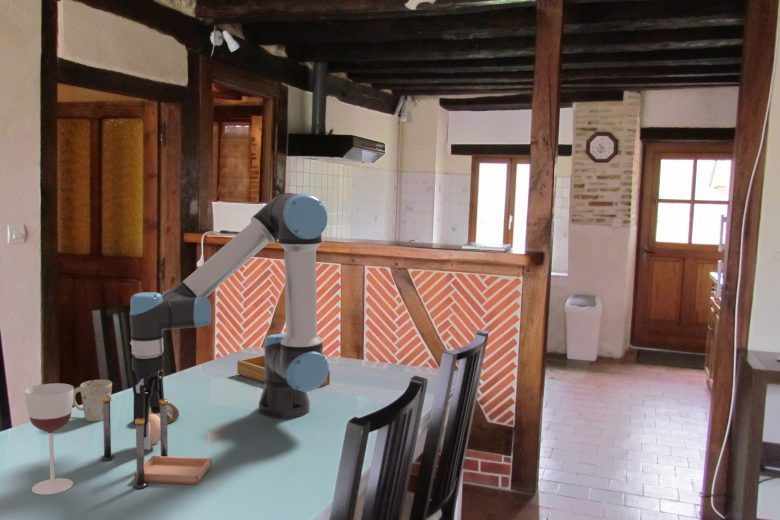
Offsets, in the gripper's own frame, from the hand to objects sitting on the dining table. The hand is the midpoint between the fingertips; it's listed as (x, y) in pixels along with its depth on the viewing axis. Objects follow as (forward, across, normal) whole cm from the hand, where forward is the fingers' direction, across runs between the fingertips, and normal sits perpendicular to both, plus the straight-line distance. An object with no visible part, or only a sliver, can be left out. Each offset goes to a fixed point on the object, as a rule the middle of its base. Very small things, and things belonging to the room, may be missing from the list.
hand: (150, 442), depth 177 cm
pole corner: (+1, +8, +7) cm, 11 cm away
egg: (+1, 0, 0) cm, 1 cm away
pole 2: (+1, +22, +7) cm, 23 cm away
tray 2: (+3, -65, +21) cm, 68 cm away
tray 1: (+1, +15, +12) cm, 19 cm away
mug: (+1, -20, -25) cm, 32 cm away
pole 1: (+1, +8, -7) cm, 11 cm away
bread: (+2, -19, -6) cm, 20 cm away
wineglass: (+1, +24, -12) cm, 27 cm away
